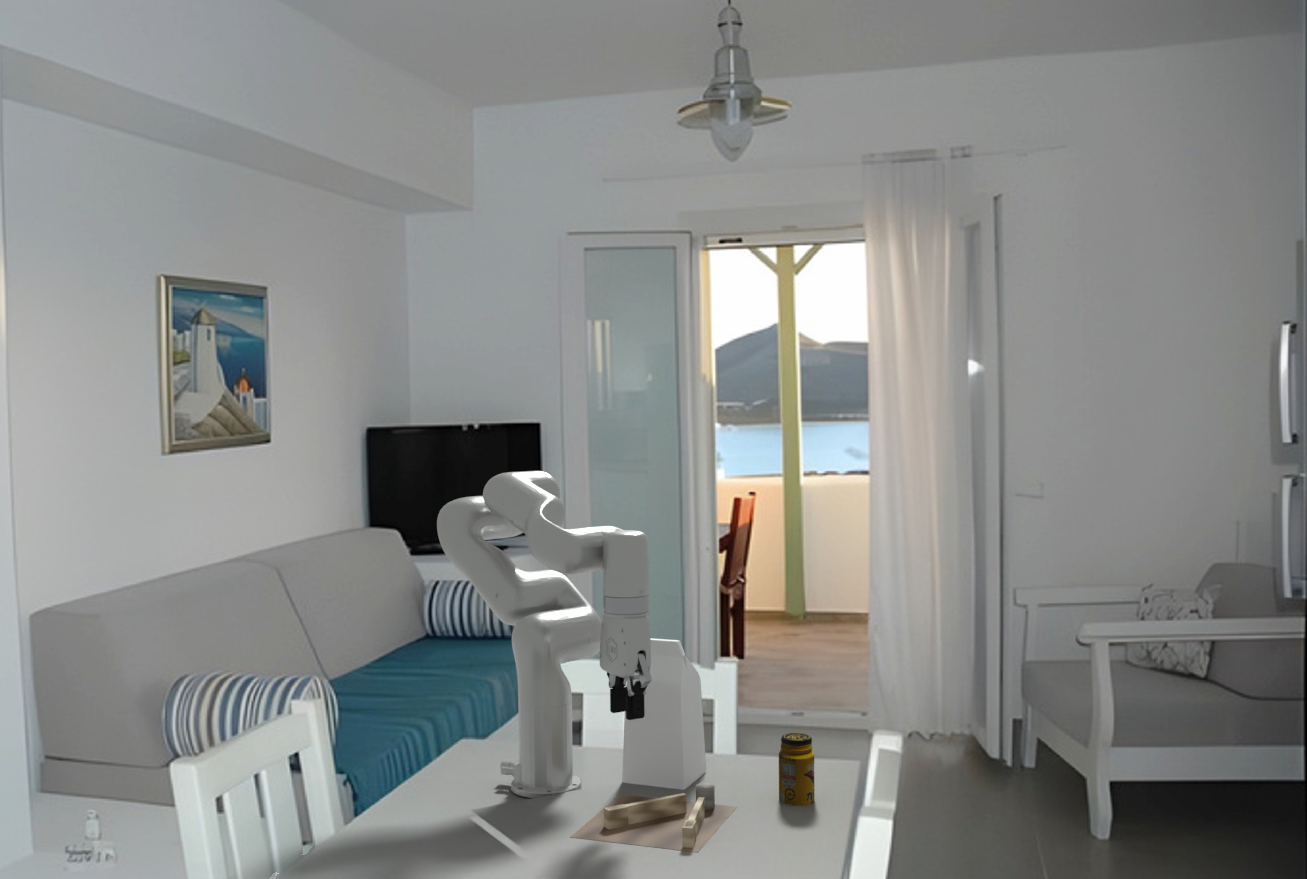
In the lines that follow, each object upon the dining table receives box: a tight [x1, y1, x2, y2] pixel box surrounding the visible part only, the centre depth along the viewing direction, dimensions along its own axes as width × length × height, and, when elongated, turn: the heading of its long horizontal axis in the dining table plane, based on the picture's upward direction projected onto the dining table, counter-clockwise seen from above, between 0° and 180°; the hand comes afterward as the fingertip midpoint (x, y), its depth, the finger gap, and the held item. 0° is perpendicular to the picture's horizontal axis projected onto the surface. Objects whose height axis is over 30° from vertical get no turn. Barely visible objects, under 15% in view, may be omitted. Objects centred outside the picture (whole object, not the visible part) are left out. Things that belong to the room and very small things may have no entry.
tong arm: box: [603, 792, 687, 829], centre depth 202 cm, size 15×2×3 cm, turn 120°
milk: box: [621, 637, 707, 791], centre depth 224 cm, size 12×12×26 cm
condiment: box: [778, 732, 815, 807], centre depth 211 cm, size 7×8×12 cm
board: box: [569, 794, 738, 854], centre depth 201 cm, size 21×22×1 cm
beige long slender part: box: [682, 782, 716, 848], centre depth 199 cm, size 20×3×4 cm, turn 169°
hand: (627, 714), depth 205 cm, fingers open, 4 cm apart
